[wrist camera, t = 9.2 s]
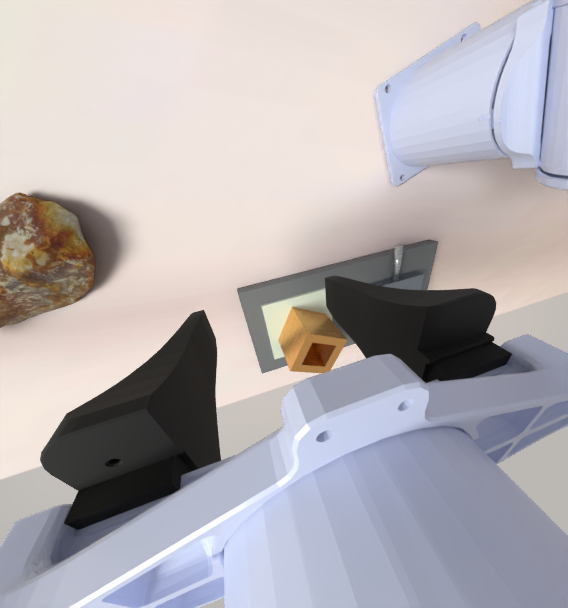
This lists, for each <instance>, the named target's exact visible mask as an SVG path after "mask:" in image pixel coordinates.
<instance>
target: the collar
mask: <svg viewBox="0 0 568 608" xmlns="http://www.w3.org/2000/svg"><path fill="white" fill-rule="evenodd" d="M278 341H279V344H280V346H281V349H282V351H283V354H284V356H285V359H286V361H287V364H288V366H289V369H290V371H297V372H312V373H325V372H328V371H330V370H331V368H332V366H333V364H334V363H335V361H336V359H337V357H338V356H339V354H340V352H341V350H342V348H343V347H344V345H345V343H346V341H347V338H346V337H345V336H344V335H343V334H342V332H341V331H340V330H339V329H338V328H337V326H336V325H335V324H334V323H333V322H332V321H331V319H330V318H329V317H328V316H327V315H326V314H324V313H319V312H314V311H309V310H304V309H299V308H294V307H291V310H290V312H289V315H288V317H287V320H286V322H285V325H284V327H283V330H282V332H281V334H280V337H279V339H278Z"/></svg>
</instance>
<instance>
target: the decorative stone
mask: <svg viewBox="0 0 568 608" xmlns="http://www.w3.org/2000/svg"><path fill="white" fill-rule="evenodd" d="M95 263H96V262H95V258H94V256H93V254H92V252H91V250H90V248H89V247H88V244H87V243H86V241H85V239H84V237H83V235H82V231H81V228H80V223H79V219H78V218H77V217H76V216H75V214H73V213H71V212H70V211H68V210H66V209H65V208H63V207H62V206H60V205H59V204H57V203H55V202H53V201H44V200H41V199H38V198H34V197H29V196H27V195H26V194H23V193H16V194H14V195H12V196H10V197H8V198H7V199H6V200H5V201H3V202H2V203H0V328H1V327H3V326H5V325H12V324H17V323H19V322H22V321H24V320H26V319H27V318H29V317H32V316H36V315H38V314H41V313H44V312H49V311H52V310H55V309H58V308H62V307H65V306H67V305H70V304H72V303H74V302H76V301H78V300H80V299H81V298H82V296H84V295H85V293H86V292H87V291H88V290H90V289H91V287H92V286H93V282H94V269H95Z"/></svg>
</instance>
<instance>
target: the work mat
mask: <svg viewBox="0 0 568 608" xmlns="http://www.w3.org/2000/svg"><path fill="white" fill-rule="evenodd" d="M437 245H438V242H436V241H433V240H427V241H423V242H419V243H415V244H411V245H407V246H404V247H403V254H402V261H401V267H400V274H399V275H401V274H404V273H408V272H412V271H415V270H416V271H418V272H421V273H423V274H424V277H423V282H422V287H421V290H427V288H428V284H429V279H430V275H431V271H432V266H433V262H434V258H435V253H436V249H437ZM394 253H395V249H391V250H387V251H383V252H379V253H376V254H372V255H368V256H364V257H360V258H356V259H352V260H348V261H344V262H340V263H336V264H332V265H329V266H325V267H321V268H317V269H313V270H309V271H305V272H301V273H297V274H293V275H289V276H285V277H282V278H278V279H274V280H270V281H266V282H262V283H258V284H254V285H250V286H246V287H242V288H238V289H237V291H238V295H239V298H240V302H241V305H242V308H243V312H244V315H245V318H246V322H247V325H248V328H249V332H250V335H251V338H252V342H253V345H254V348H255V352H256V355H257V358H258V362H259V365H260V368H261V372H262V373H265V372H268V371H272V370H275V369H278V368H281V367H284V366H287V365H288V364H287V361H286V359H285V356H284V354H283V351H282V349H281V346H280V344H279V341H278V339H279V337H280V334H281V332H282V330H283V327H284V325H285V322H286V320H287V317H288V315H289V312H290V310H291V307H294V308H299V309H304V310H309V311H314V312H319V313H324V314H326V315H327V316H328V317H329V318H330V319H331V321H332V322H333V323H334V324H335V325H336V326H337V328H338V329H339V330H340V331H341V332H342V334H343V335H344V336H345V337H346V338H347V341H346V343H345V345H344V347H346V346H349V345H352V344H355V342H354V341H353V340H352V339H351V338H350V336H349V335H348V334H347V333H346V332H345V331H344V330H343V329H342V327H341V326H340V325H339V324H338V323H337V322H336V320H335V319H334V318H333V316H332V315H331V313H330V312H329V310H328V308H327V307H326V292H325V278H326V277H330V276H341V277H345V278H349V279H353V280H356V281H360V282H364V283H372V282H376V281H379V280H383V279H386V278H390V277H391V276H392V269H393V261H394Z"/></svg>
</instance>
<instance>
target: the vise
mask: <svg viewBox="0 0 568 608" xmlns="http://www.w3.org/2000/svg"><path fill="white" fill-rule="evenodd" d="M403 247H404V246H403V245H396V246H395V253H394V261H393V269H392V276H391V277H390V278H386V279H383V280H379V281H376V282H372V283H369V284H373V285H378V286H383V287H390V288H398V289H409V290H421V287H422V282H423V277H424V274H423V273H421V272H418V271H416V270H415V271H412V272H408V273H404V274H401V275H399V274H400V267H401V261H402V254H403Z"/></svg>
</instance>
